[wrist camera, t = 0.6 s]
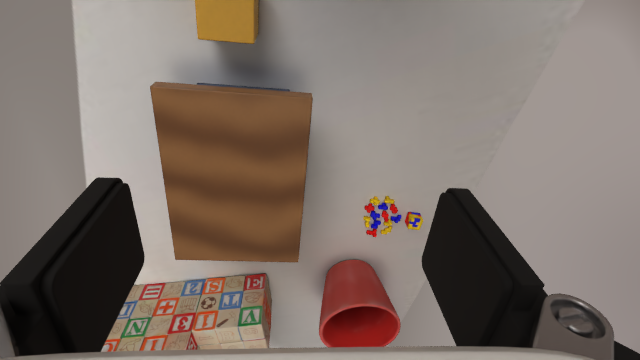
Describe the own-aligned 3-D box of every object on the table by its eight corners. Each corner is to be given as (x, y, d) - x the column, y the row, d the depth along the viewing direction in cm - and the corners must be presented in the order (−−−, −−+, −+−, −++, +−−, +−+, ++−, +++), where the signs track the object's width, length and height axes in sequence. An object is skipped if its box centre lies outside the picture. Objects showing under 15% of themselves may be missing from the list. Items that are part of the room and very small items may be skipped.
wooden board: (155, 81, 32) (149, 86, 31) (311, 92, 34) (312, 98, 32) (178, 250, 42) (175, 259, 41) (298, 253, 44) (298, 262, 43)
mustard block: (205, -27, 34) (193, -25, 30) (258, -21, 35) (254, -18, 30) (208, 30, 37) (197, 39, 32) (258, 34, 37) (254, 44, 33)
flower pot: (365, 306, 60) (377, 361, 52) (305, 291, 57) (307, 347, 49) (397, 262, 55) (416, 315, 47) (332, 243, 53) (340, 296, 44)
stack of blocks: (266, 271, 55) (260, 345, 44) (272, 299, 58) (268, 374, 47) (124, 286, 54) (84, 364, 44) (138, 313, 57) (104, 392, 47)
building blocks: (368, 193, 49) (371, 201, 47) (424, 200, 50) (428, 207, 48) (357, 231, 52) (359, 239, 50) (410, 237, 53) (413, 244, 52)
